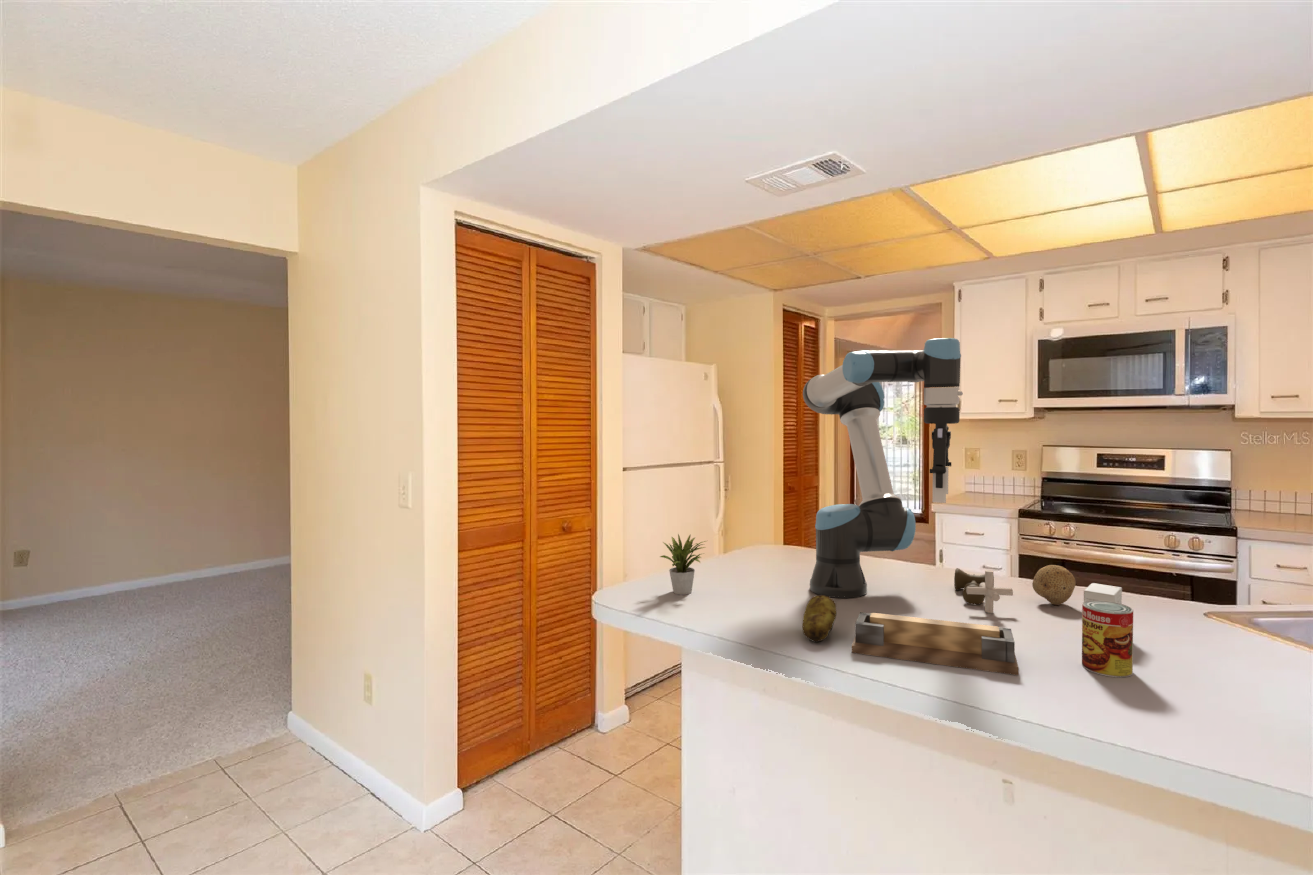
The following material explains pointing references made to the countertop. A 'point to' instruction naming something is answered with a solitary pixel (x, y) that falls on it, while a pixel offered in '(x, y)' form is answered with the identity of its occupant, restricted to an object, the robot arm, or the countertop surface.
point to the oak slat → (934, 633)
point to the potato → (819, 617)
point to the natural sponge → (1054, 584)
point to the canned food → (1107, 638)
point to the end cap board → (994, 650)
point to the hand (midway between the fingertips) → (940, 498)
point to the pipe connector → (989, 591)
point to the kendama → (969, 585)
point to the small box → (1103, 593)
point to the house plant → (682, 565)
